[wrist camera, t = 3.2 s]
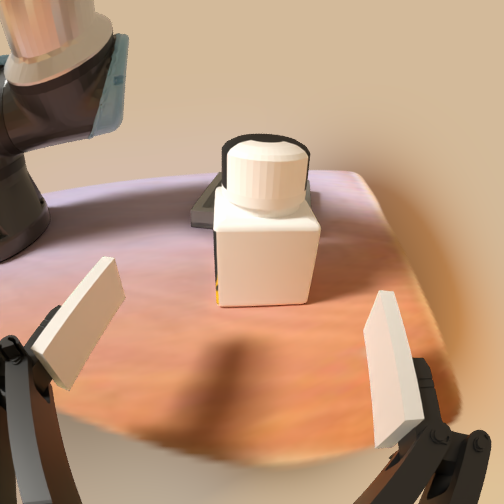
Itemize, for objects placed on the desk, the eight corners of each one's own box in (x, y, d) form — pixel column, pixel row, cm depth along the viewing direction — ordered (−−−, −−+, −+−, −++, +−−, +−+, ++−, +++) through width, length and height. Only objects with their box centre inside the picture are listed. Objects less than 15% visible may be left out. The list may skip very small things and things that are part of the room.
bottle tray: (191, 226, 33) (190, 210, 32) (219, 184, 44) (219, 172, 42) (309, 239, 32) (312, 222, 30) (307, 193, 42) (309, 180, 41)
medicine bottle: (217, 255, 29) (215, 128, 22) (290, 254, 29) (304, 131, 22) (216, 309, 23) (211, 151, 16) (307, 305, 23) (334, 155, 17)
